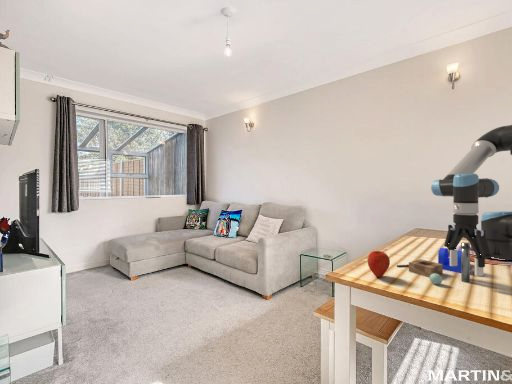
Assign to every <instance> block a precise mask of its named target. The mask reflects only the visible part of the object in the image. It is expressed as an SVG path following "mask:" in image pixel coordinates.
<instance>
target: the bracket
mask: <svg viewBox="0 0 512 384" xmlns="http://www.w3.org/2000/svg"><path fill="white" fill-rule="evenodd" d="M437 255H438V256H437V261H438V262H437V263H439V264H443V270H444V271H447V272H453V273H458V274H461V249H460V250H457V266H450V257H449V249H448V248H447V247H440V248H439V250H438V254H437Z"/></svg>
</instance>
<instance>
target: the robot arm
mask: <svg viewBox="0 0 512 384" xmlns="http://www.w3.org/2000/svg"><path fill="white" fill-rule="evenodd" d="M508 151H510V153H509V155H510V156H512V124H509V125H503V126H498V127H496V128H493V129H491V130H490V131H488V132H485V134H483V135H481V136H480V137H479V138H478V139H476V140H475V141H474V142H473V143H472V144H471V148H470V149H469V151H468V152H467V153H466V154H465V155H464V157H462V159H461V160H460V161H459V162H458V163H456V165H455V166H454V167H453V168H452V169H451V170H450V171H449V172H447V175H446V176H445V177H444V178H442V179H441V178H440V179H436V180H433V181H432V183H431V186H430V190H431V193H432V194H433V195H434V196H437V197H453V201H452V202H453V203H452V204H453V213H454V214H453V217H452V219H453V220H452V221H453V223H454V224H448V226H447V229H448V230H447V234H446V237H445V241H444V244H443V245H444V248H447V249H448V252H449V258H450V266H457V251H458V250H457V247H458V246H459V244H460V242H461V241H462V239H463V238H464V239H466V241H468V243H470V247H471V248H472V250H473V252H474V254H475V256H476V257H474V276H476V277H478V276H479V277H481V276H484V268H485V266H486V259H487V258H491V257H494V258H499V259H505V260H512V210H511V211H503V210H502V211H487V212H483V213H482V214H481V216H480V217H481V218H480V229H478V228H477V225H478V224H479V198H480V199H481V198H486V199H487V198H490V197H493V196H496V195H497V194H498V193H499V190H500V185H499V183H498V181H496V179H495V180H494V179H492V178H487V177H486V178H479V175H478V174H477V173H476V172H477V170H479V168H480V167H481V166H482V165H483V164H484V163H485V162H486V160H487V159H489V158H491V157H493V156H494V155H496V153H499V152H500V153H501V152H508ZM480 254H481V255H480Z"/></svg>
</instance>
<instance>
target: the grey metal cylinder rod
mask: <svg viewBox="0 0 512 384" xmlns="http://www.w3.org/2000/svg"><path fill="white" fill-rule="evenodd" d="M460 248H461V249H460V251H461V273H460V274H461V277H460V278H461V279H460V281H461V282H463V283H466V284H467V283H471V244H470V242H465V241H464V242H463V241H462V242H461V243H460Z"/></svg>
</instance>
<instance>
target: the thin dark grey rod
mask: <svg viewBox="0 0 512 384" xmlns="http://www.w3.org/2000/svg"><path fill="white" fill-rule="evenodd" d="M396 267H397V268H402V267H403V268H404V267H407V268H409V264H397V265H396Z"/></svg>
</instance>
